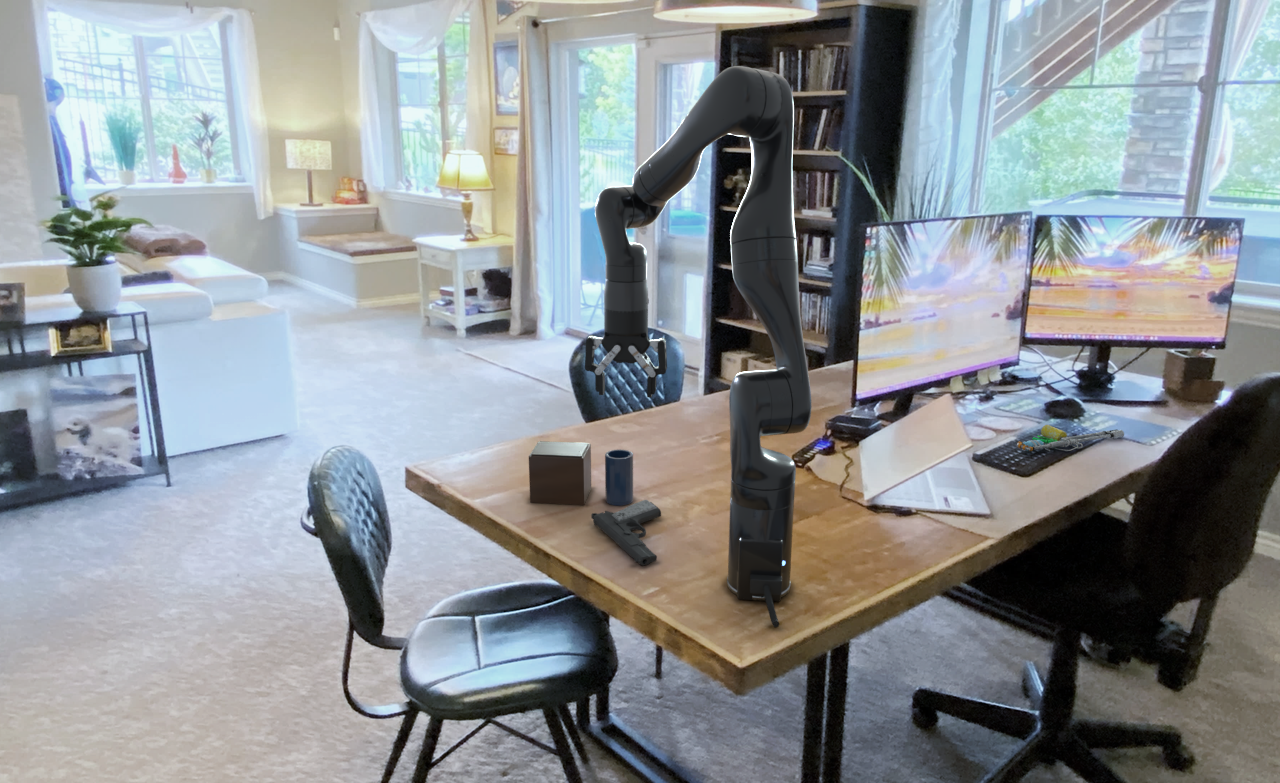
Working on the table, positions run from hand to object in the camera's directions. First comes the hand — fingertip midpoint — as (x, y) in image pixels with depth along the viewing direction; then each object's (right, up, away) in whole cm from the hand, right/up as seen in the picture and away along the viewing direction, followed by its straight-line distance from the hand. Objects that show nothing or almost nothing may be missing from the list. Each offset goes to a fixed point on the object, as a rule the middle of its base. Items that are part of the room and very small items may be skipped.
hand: (625, 395), depth 163 cm
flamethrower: (+95, -11, +37) cm, 102 cm away
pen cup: (-1, -19, +6) cm, 20 cm away
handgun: (+3, -24, -9) cm, 26 cm away
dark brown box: (-12, -19, +8) cm, 24 cm away
